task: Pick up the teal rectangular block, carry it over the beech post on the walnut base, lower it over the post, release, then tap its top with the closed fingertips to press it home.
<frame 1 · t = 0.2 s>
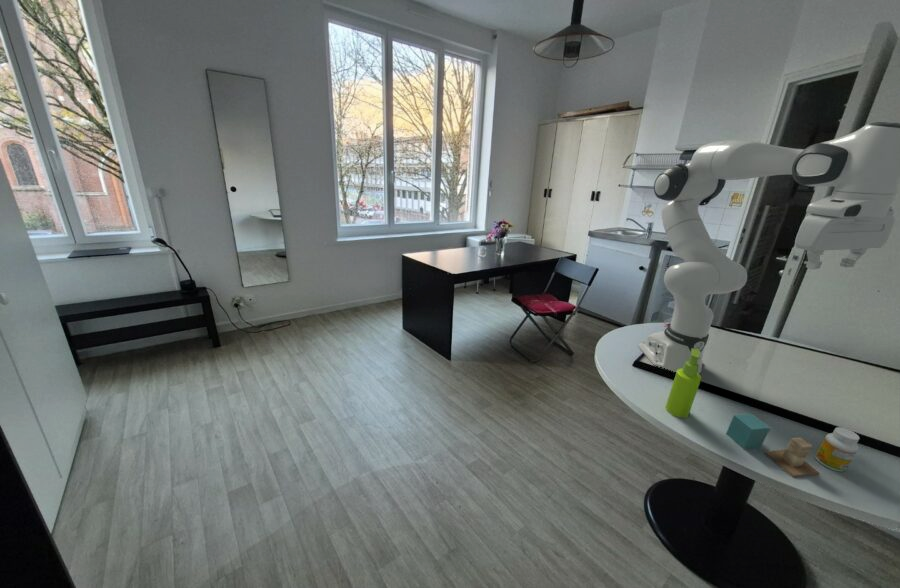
hand: (829, 267, 78), 47 cm above the table, fingers open, 8 cm apart
teal rectangular block: (743, 440, 91), on the table
supplement bottle: (829, 463, 85), on the table
soap dispenser: (676, 410, 102), on the table
post: (790, 463, 84), on the table
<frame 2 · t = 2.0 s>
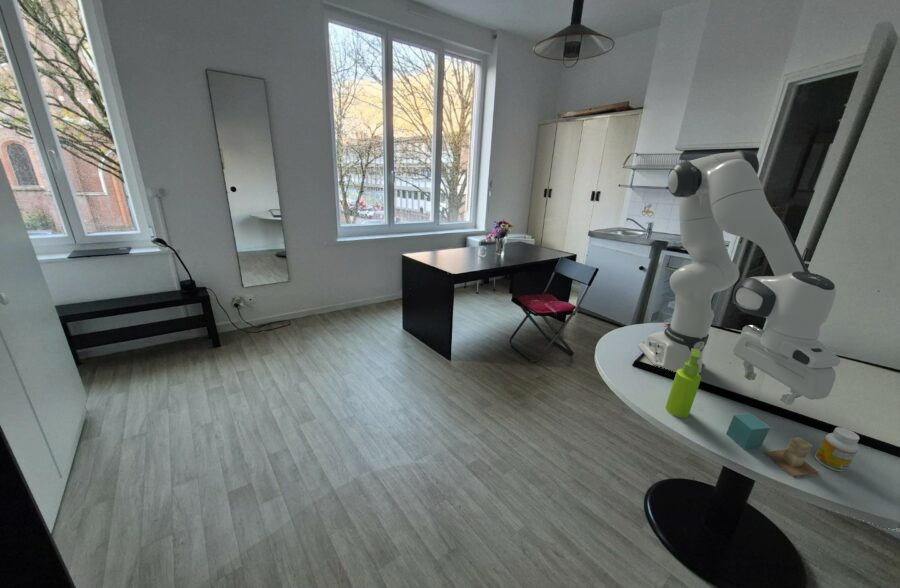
hand: (766, 389, 84), 17 cm above the table, fingers open, 8 cm apart
nothing on the table moved.
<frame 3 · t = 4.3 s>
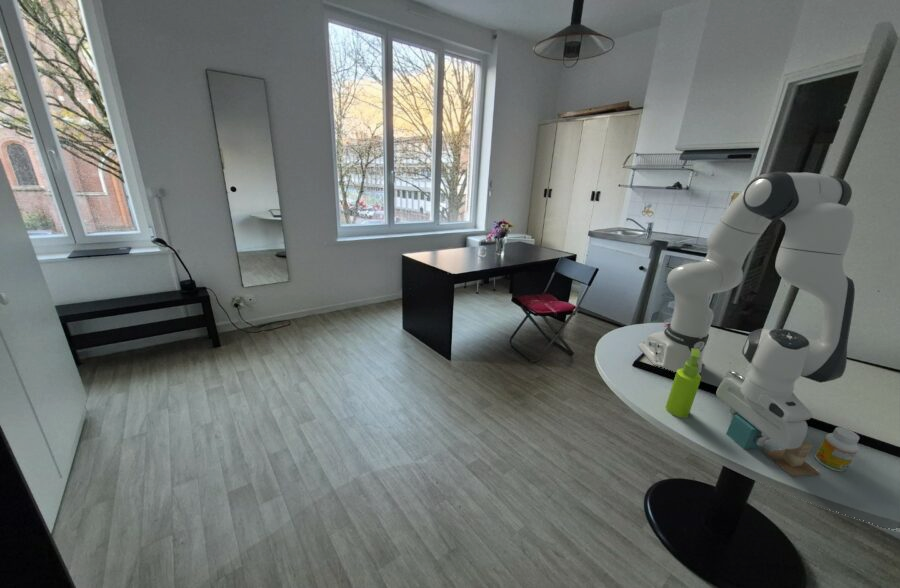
hand: (746, 433, 90), 2 cm above the table, fingers closed on teal rectangular block, 5 cm apart
teal rectangular block: (743, 440, 91), on the table, touching gripper
everything else where it was.
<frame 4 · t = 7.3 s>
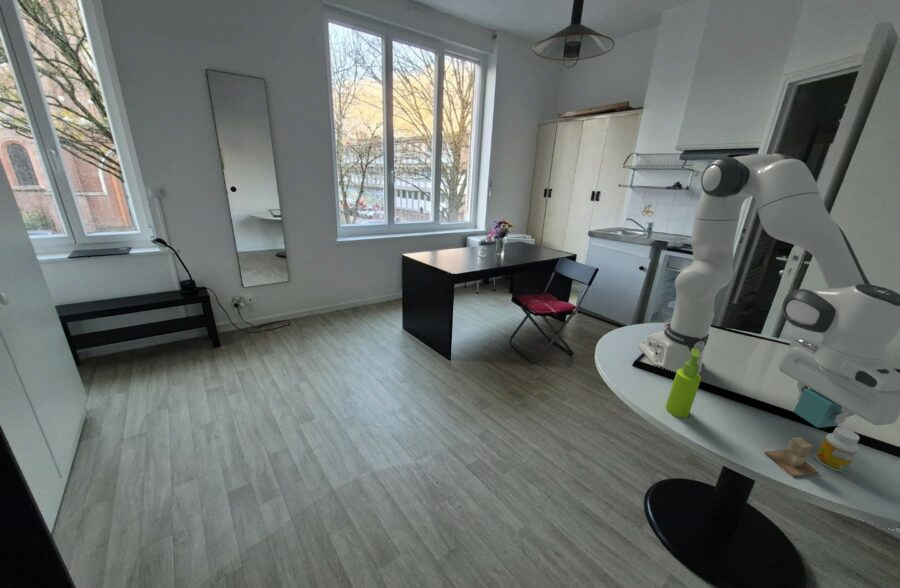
hand: (818, 410, 78), 17 cm above the table, fingers closed on teal rectangular block, 5 cm apart
teal rectangular block: (814, 418, 79), point 14 cm above the table, touching gripper
everything else where it was.
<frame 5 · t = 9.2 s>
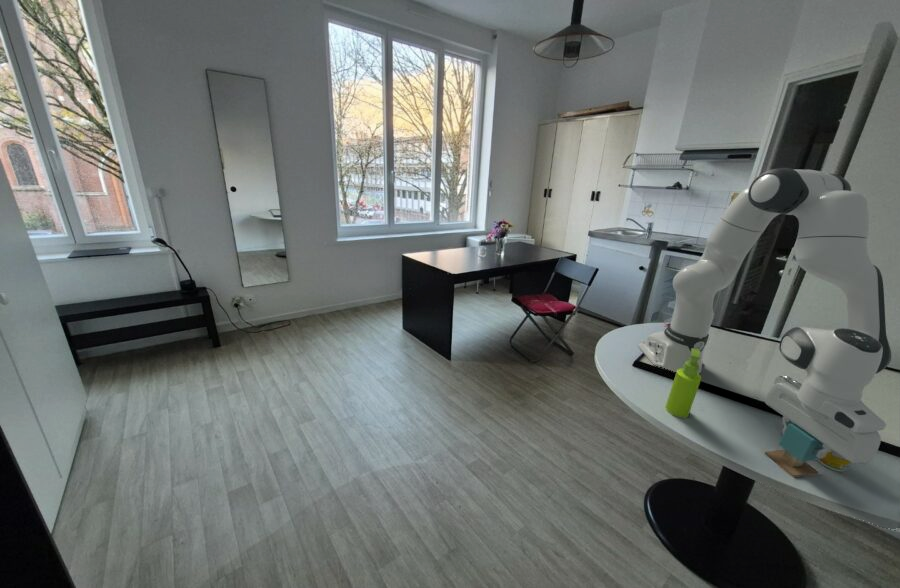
hand: (802, 444, 82), 6 cm above the table, fingers closed on teal rectangular block, 5 cm apart
teal rectangular block: (798, 451, 83), point 4 cm above the table, touching gripper
everything else where it was.
when the fingers open (4 cm above the table, at t = 10.7 s): teal rectangular block drops 1 cm, resting on post.
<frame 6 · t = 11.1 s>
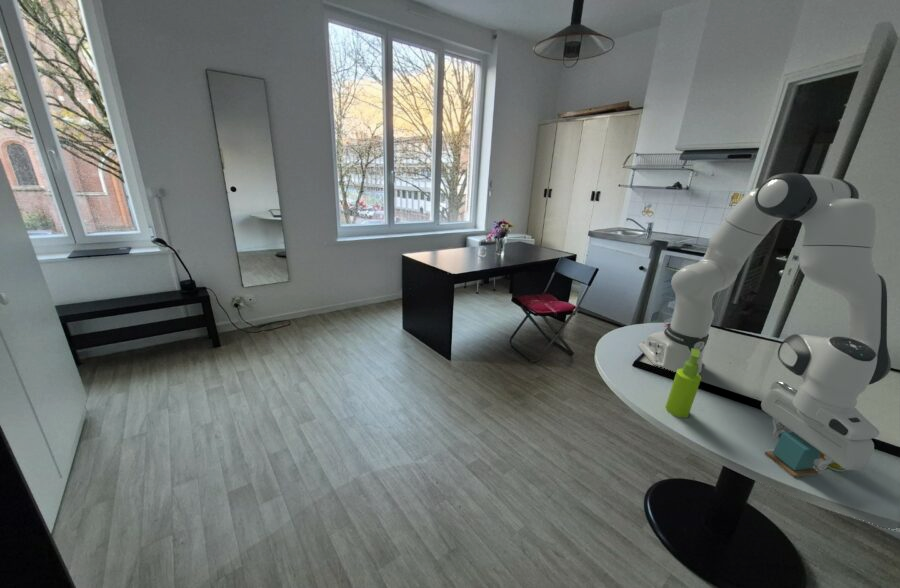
hand: (797, 450, 83), 4 cm above the table, fingers open, 8 cm apart
teal rectangular block: (792, 460, 84), point 1 cm above the table, touching post
everything else where it was.
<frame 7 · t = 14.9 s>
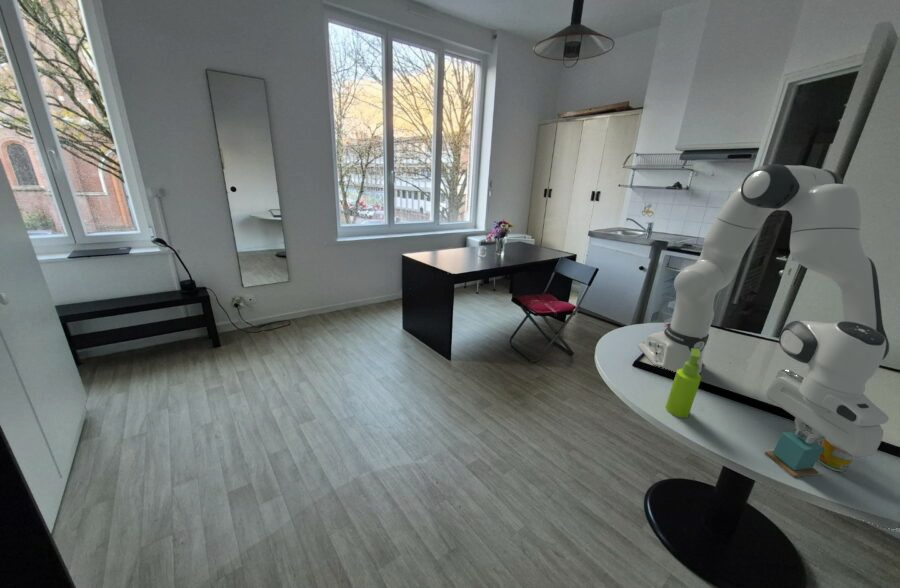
hand: (803, 438, 81), 8 cm above the table, fingers closed
nothing on the table moved.
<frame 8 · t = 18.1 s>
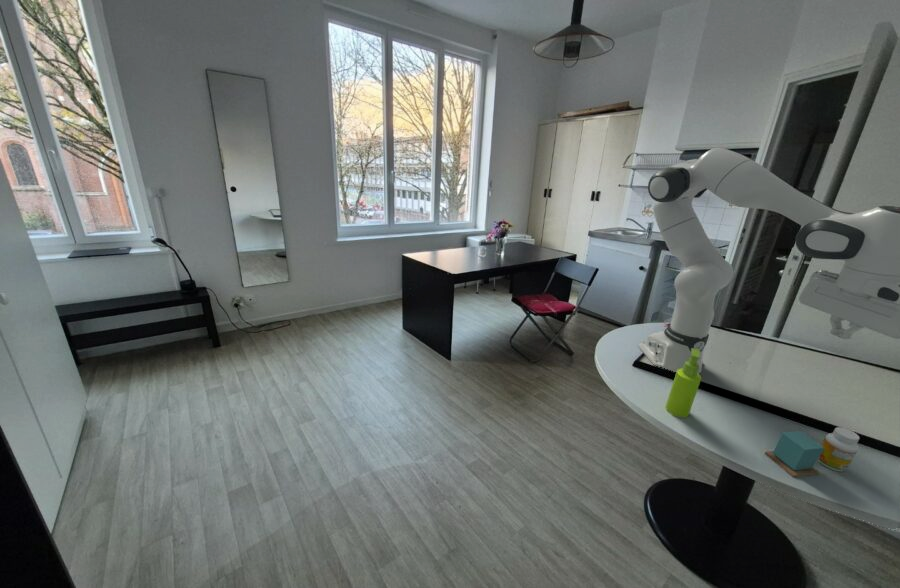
hand: (839, 336, 81), 31 cm above the table, fingers closed
nothing on the table moved.
at the end: teal rectangular block 0.1 cm from the post (horizontally); teal rectangular block point 1.0 cm above the table; teal rectangular block tilted 0° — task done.
